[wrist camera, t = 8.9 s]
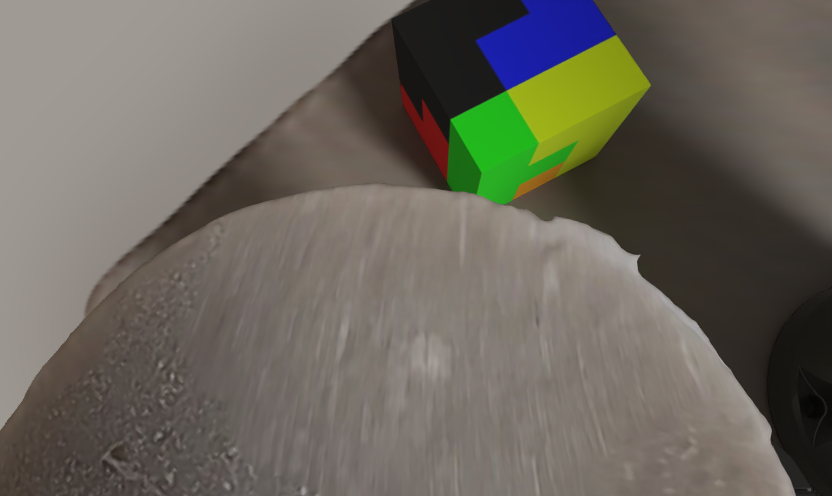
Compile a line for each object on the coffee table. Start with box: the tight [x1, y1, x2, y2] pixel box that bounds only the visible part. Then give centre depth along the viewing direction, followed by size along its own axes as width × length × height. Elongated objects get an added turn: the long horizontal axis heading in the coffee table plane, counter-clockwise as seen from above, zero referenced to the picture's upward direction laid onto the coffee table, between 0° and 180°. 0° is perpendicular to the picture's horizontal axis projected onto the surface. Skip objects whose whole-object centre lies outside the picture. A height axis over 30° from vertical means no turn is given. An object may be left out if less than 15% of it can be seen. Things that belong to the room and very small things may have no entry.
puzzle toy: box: [392, 0, 651, 205], centre depth 33 cm, size 10×10×10 cm
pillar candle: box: [0, 183, 796, 496], centre depth 12 cm, size 10×10×15 cm
